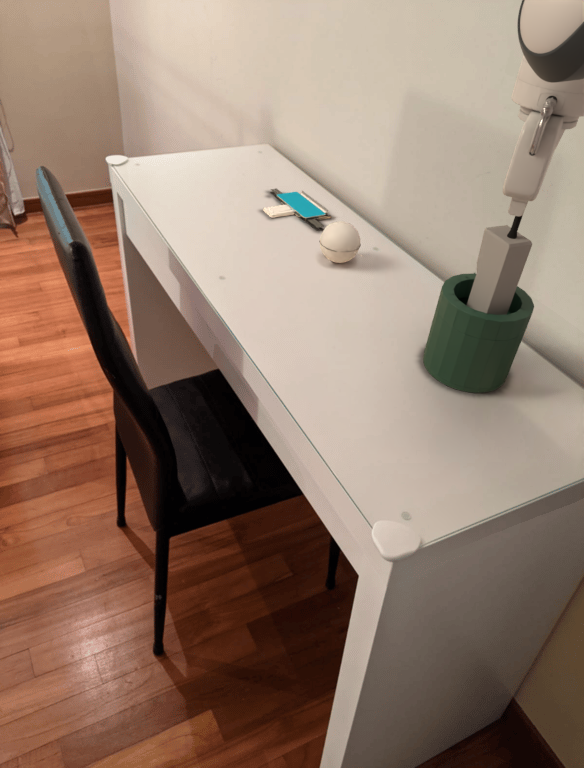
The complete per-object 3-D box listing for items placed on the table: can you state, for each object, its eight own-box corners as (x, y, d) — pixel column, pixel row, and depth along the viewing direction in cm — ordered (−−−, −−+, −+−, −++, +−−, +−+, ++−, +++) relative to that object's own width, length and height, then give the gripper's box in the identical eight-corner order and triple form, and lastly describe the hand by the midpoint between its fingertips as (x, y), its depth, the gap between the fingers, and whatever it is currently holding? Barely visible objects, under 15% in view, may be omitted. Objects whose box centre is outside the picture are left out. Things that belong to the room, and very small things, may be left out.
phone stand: (245, 195, 131) (246, 188, 130) (293, 189, 136) (294, 181, 135) (291, 235, 118) (292, 227, 117) (342, 226, 123) (343, 218, 122)
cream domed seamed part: (310, 254, 113) (314, 216, 108) (345, 249, 116) (350, 212, 111) (335, 280, 106) (341, 241, 102) (372, 274, 109) (379, 236, 104)
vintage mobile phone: (472, 331, 90) (528, 160, 74) (493, 350, 86) (557, 176, 71) (451, 335, 88) (504, 162, 73) (472, 355, 85) (532, 178, 69)
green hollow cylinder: (512, 357, 93) (539, 288, 85) (498, 403, 84) (527, 331, 76) (434, 333, 96) (453, 265, 88) (413, 375, 87) (432, 303, 79)
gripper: (580, 116, 57) (531, 250, 66) (593, 76, 72) (552, 190, 81) (512, 103, 59) (474, 235, 68) (538, 67, 74) (504, 179, 83)
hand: (516, 210), depth 74 cm, fingers closed on vintage mobile phone
